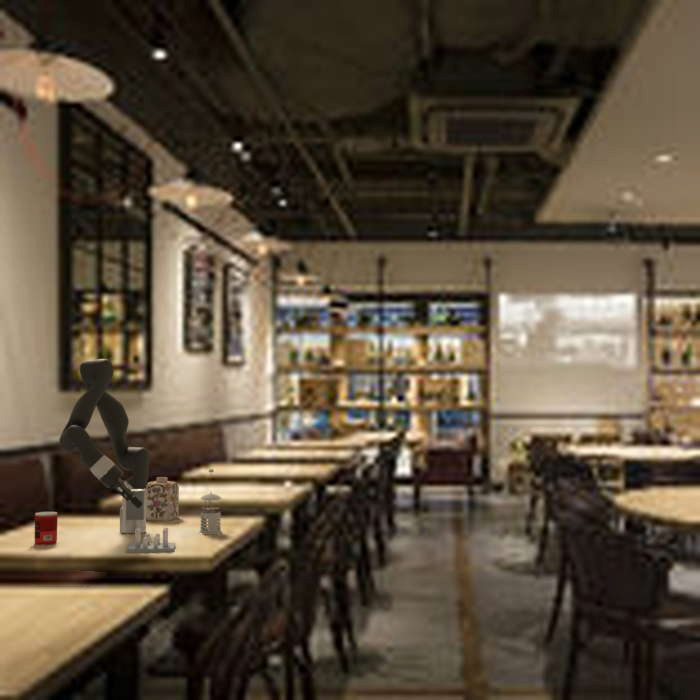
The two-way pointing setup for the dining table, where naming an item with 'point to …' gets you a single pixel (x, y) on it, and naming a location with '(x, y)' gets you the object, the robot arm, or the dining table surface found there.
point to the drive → (131, 509)
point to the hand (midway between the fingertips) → (141, 505)
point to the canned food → (45, 528)
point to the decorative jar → (162, 500)
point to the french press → (210, 515)
